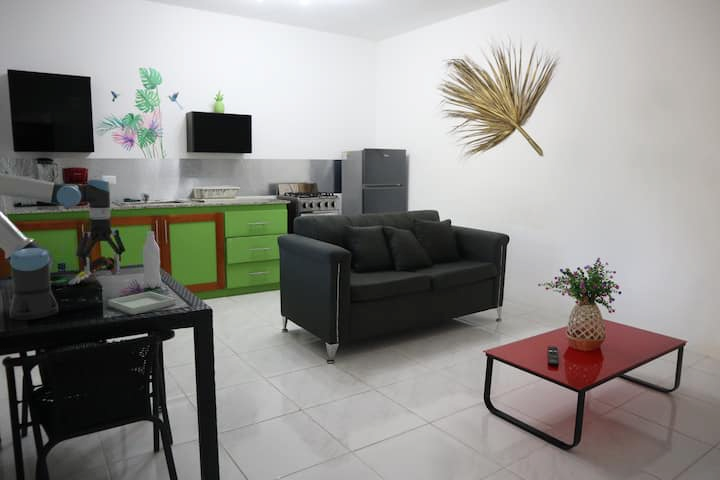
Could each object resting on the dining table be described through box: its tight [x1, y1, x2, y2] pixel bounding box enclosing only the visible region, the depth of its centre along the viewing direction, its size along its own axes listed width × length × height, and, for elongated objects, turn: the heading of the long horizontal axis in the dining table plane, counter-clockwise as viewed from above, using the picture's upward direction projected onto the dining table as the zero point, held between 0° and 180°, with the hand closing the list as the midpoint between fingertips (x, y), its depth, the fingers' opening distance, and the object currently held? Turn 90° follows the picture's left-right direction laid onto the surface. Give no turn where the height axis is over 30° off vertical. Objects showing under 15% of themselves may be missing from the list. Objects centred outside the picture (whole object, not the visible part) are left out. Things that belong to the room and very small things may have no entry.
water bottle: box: [142, 230, 162, 289], centre depth 230 cm, size 7×7×25 cm
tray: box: [107, 291, 176, 316], centre depth 202 cm, size 18×18×2 cm
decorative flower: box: [50, 270, 97, 286], centre depth 233 cm, size 13×5×30 cm
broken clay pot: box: [89, 255, 118, 276], centre depth 210 cm, size 12×10×8 cm
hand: (102, 271), depth 210 cm, fingers closed on broken clay pot, 11 cm apart
